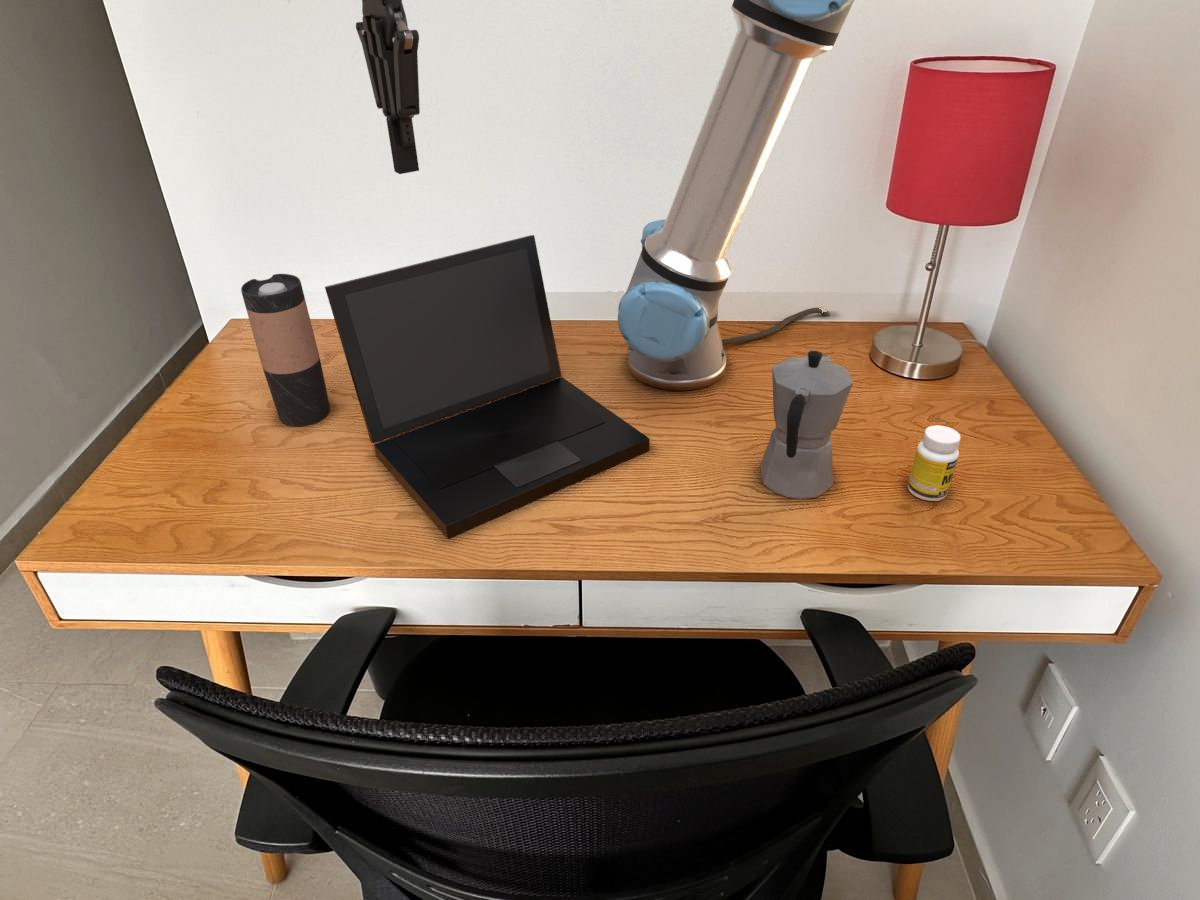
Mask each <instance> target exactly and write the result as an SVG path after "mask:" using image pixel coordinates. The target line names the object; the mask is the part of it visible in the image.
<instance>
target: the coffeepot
mask: <svg viewBox="0 0 1200 900" xmlns="http://www.w3.org/2000/svg"><path fill="white" fill-rule="evenodd" d="M771 375H772V377H771V378H772V403H773V404H772V405H773V407H772V408H773V419H774V423H775V428H774V429H772V431H771V434H770V437H769V440H768V443H767V446H766V449H765V452H764V454H763V458H762V461H761V463H760V465H759V466H760V467H759V470H760V476H761V477H760V478H761V480H762V483H763V485H764V486H765V487H766V488H767V489H768V490H770V491H772V492H773V493H775V494H777V495H779V496H782V497H785V498H789V499H793V500H794V499H796V500H808V499H814V498H818V497H820V496H821V495H822V496H823V494H825V493H826V492H827V491H828V490H829V489H830V488H831V487H833V486H834V481H833V480H834V476H833V475H834V473H833V442H832V438H831V436H832V433H833V431H835V430H836V429H837V427H838V425H839V422H840V418H841V416H842V413H843V411H844V409H845V406H846V403H847V401H848V398H849V395H850V392H851V390H852V387H853V385H854V382H853V380H852V378H851V375H850V373H849V371H848V369H847V367H845V366H843V365H840V364H838V363H835V362H833V361H832V358H831V355H830V354H823V352H822V351H819V350H810V351H808V352H807V356H805V357H801V356H800V357H799V356H790V357H788V358H786V359H784V360H782V361H781V362H779V363H777V364H775V365H773V366H772V367H771Z"/></svg>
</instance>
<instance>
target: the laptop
mask: <svg viewBox="0 0 1200 900" xmlns="http://www.w3.org/2000/svg"><path fill="white" fill-rule="evenodd" d="M650 439H651V438H650V437H648V436H646V435H645V434H644V433H642V432H641V431H640V430H638V428H635V427H634V426H633V425H631V424H630V423H628V422H627V421H625V420H624V419H622V418H621V417H620V416H619V415H617V414H616V413H614V412H613V411H611V410H610V409H608V408H607V407H605V406H604V405H603V404H601V403H600V402H599V401H598V400H596V399H594V398H593V397H591V396H590V395H589V394H587V393H586V392H584V391H583V390H581V389H580V388H579V387H578V386H576V385H574V384H573V383H571V382H570V381H569V380H567V379H566V378H565V377H563V376H561V377H558V378H556V379H553V380H550V381H547V382H544V383H542V384H539V385H536V386H533V387H530V388H528V389H525V390H522V391H519V392H517V393H514V394H511V395H508V396H505V397H503V398H500V399H497V400H494V401H491V402H489V403H486V404H483V405H480V406H477V407H475V408H472V409H469V410H466V411H463V412H461V413H458V414H455V415H452V416H449V417H447V418H444V419H441V420H438V421H435V422H433V423H430V424H427V425H424V426H421V427H419V428H416V429H413V430H410V431H407V432H405V433H402V434H399V435H396V436H393V437H391V438H388V439H385V440H382V441H379V442H377V443H374V444H373V448H374V452H375V456H376V458H377V459H378V461H380V462H381V464H383V466H384V467H385V468H386V469H387V470H388V472H389V473H390V474H391V475H392V476H393V477H394V478H395V479H396V481H397V482H398V483H399V484H400V485H401V487H403V489H404V490H405V492H407V494H409V496H410V497H411V498H412V499H413V500H414V501H415V503H416V504H417V505H418V506H419V507H420V509H421V510H422V511H423V512H424V513H425V514H426V515H427V516H428V518H429V519H430V520H431V521H432V522H433V523H434V525H436V527H437V528H438V529H439V530H440V531H441V533H442V534H443V535H444V536H445V537H446V539H452V538H454V537H456V536H458V535H461V534H462V533H465V532H467V531H470V530H472V529H474V528H477V527H479V526H481V525H483V524H486V523H487V522H490V521H492V520H494V519H497V518H499V517H501V516H504V515H506V514H509V513H511V512H513V511H516V510H518V509H520V508H523V507H524V506H527V505H529V504H532V503H533V502H536V501H538V500H540V499H543V498H544V497H547V496H549V495H551V494H553V493H556V492H558V491H561V490H563V489H565V488H567V487H570V486H572V485H574V484H578V483H579V482H581V481H583V480H586V479H588V478H591V477H592V476H595V475H598V474H599V473H600V474H601V472H604V471H606V470H609V469H611V468H613V467H616V466H618V465H620V464H622V463H624V462H628V461H629V460H632V459H633V458H636V457H638V456H641V455H643V454H645V453H647V452H650Z"/></svg>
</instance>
